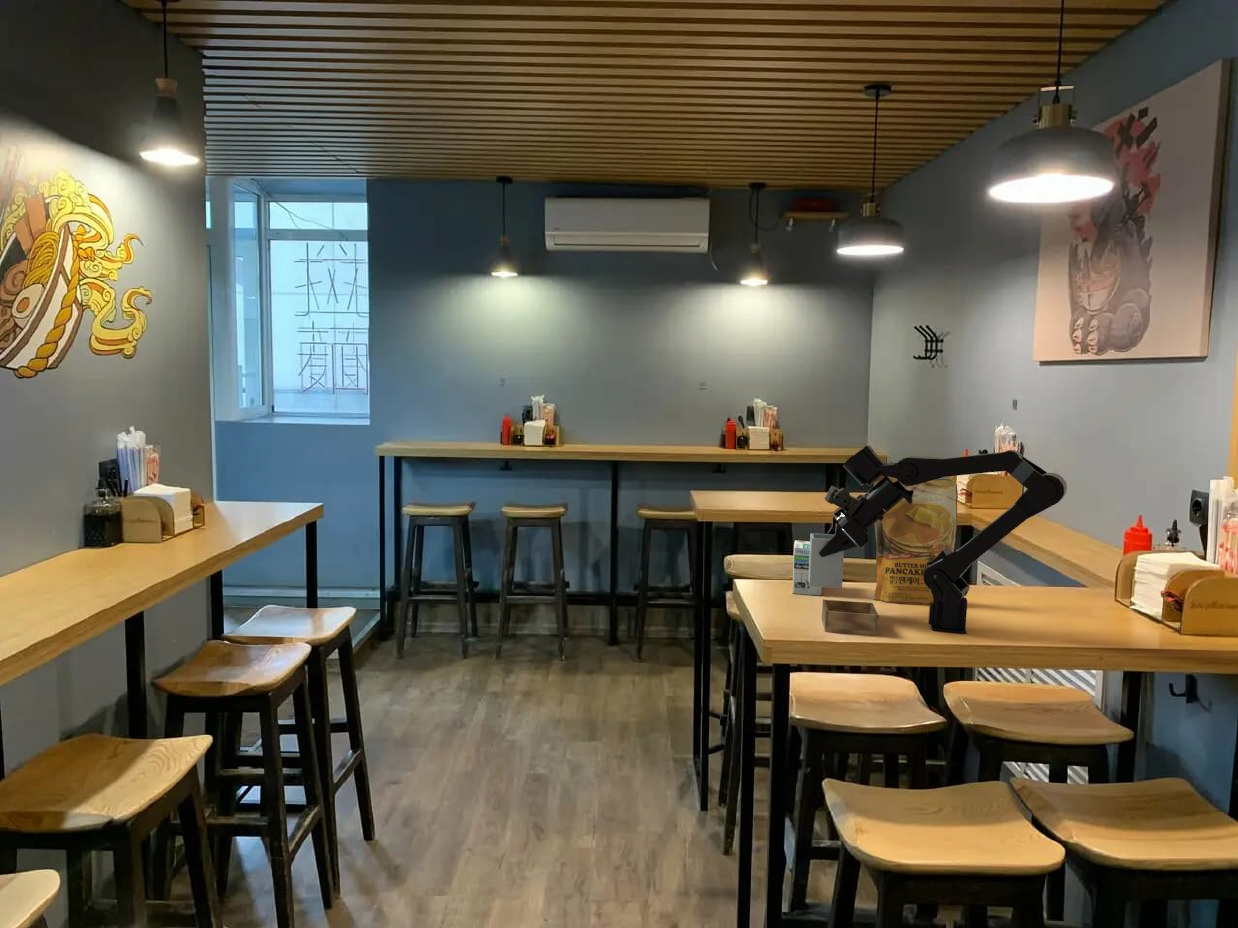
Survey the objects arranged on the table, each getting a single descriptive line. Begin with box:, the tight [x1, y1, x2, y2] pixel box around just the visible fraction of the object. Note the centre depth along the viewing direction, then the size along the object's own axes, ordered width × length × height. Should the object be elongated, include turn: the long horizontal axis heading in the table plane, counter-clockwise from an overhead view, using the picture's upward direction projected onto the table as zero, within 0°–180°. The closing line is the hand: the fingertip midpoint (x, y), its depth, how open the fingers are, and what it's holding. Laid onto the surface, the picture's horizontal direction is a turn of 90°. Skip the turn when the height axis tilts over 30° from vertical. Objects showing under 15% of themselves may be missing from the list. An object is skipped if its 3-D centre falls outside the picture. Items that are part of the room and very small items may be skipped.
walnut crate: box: [821, 599, 879, 637], centre depth 178 cm, size 10×10×4 cm
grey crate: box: [808, 532, 845, 589], centre depth 187 cm, size 6×6×10 cm
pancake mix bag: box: [872, 476, 959, 606], centre depth 200 cm, size 7×19×28 cm, turn 84°
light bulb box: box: [791, 539, 823, 596], centre depth 209 cm, size 11×7×11 cm, turn 168°
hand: (819, 552), depth 187 cm, fingers closed on grey crate, 6 cm apart
